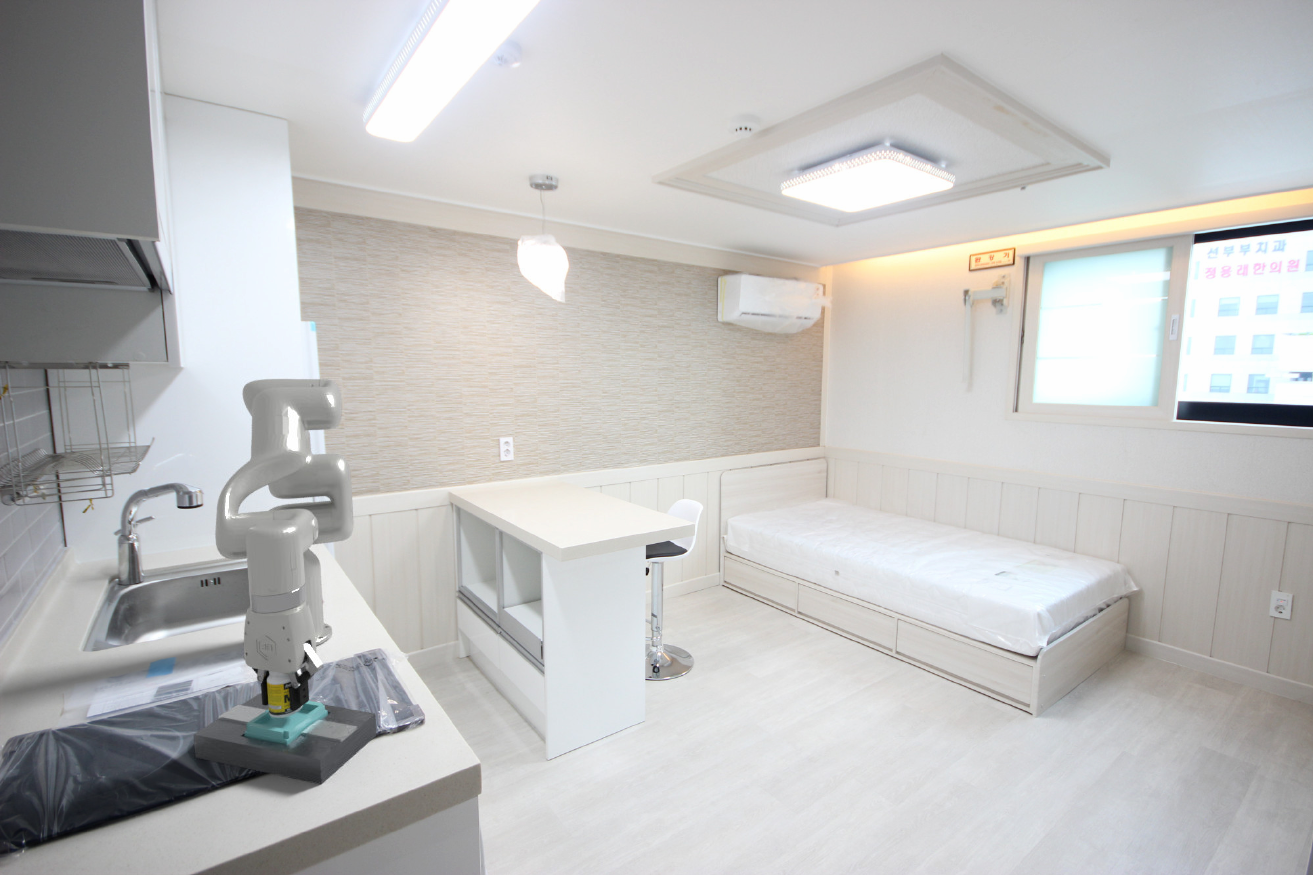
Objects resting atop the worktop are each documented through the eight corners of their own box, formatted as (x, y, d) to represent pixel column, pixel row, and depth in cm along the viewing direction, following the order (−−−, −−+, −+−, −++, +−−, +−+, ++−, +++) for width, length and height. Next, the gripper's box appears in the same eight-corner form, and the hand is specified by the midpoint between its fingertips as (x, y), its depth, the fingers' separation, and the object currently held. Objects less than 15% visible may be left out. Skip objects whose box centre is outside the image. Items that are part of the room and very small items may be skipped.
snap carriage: (245, 743, 93) (243, 725, 93) (288, 713, 101) (286, 696, 101) (287, 752, 91) (286, 733, 91) (328, 721, 99) (327, 703, 99)
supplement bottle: (286, 720, 93) (283, 671, 92) (261, 716, 94) (258, 668, 93) (310, 703, 98) (307, 656, 97) (286, 699, 99) (282, 653, 97)
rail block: (195, 757, 93) (193, 732, 93) (261, 713, 105) (259, 691, 104) (321, 784, 88) (319, 757, 87) (376, 735, 100) (375, 711, 99)
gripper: (213, 601, 91) (222, 708, 94) (303, 614, 88) (311, 725, 90) (256, 583, 99) (263, 683, 101) (341, 594, 95) (347, 698, 97)
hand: (286, 702), depth 96 cm, fingers closed on supplement bottle, 4 cm apart
